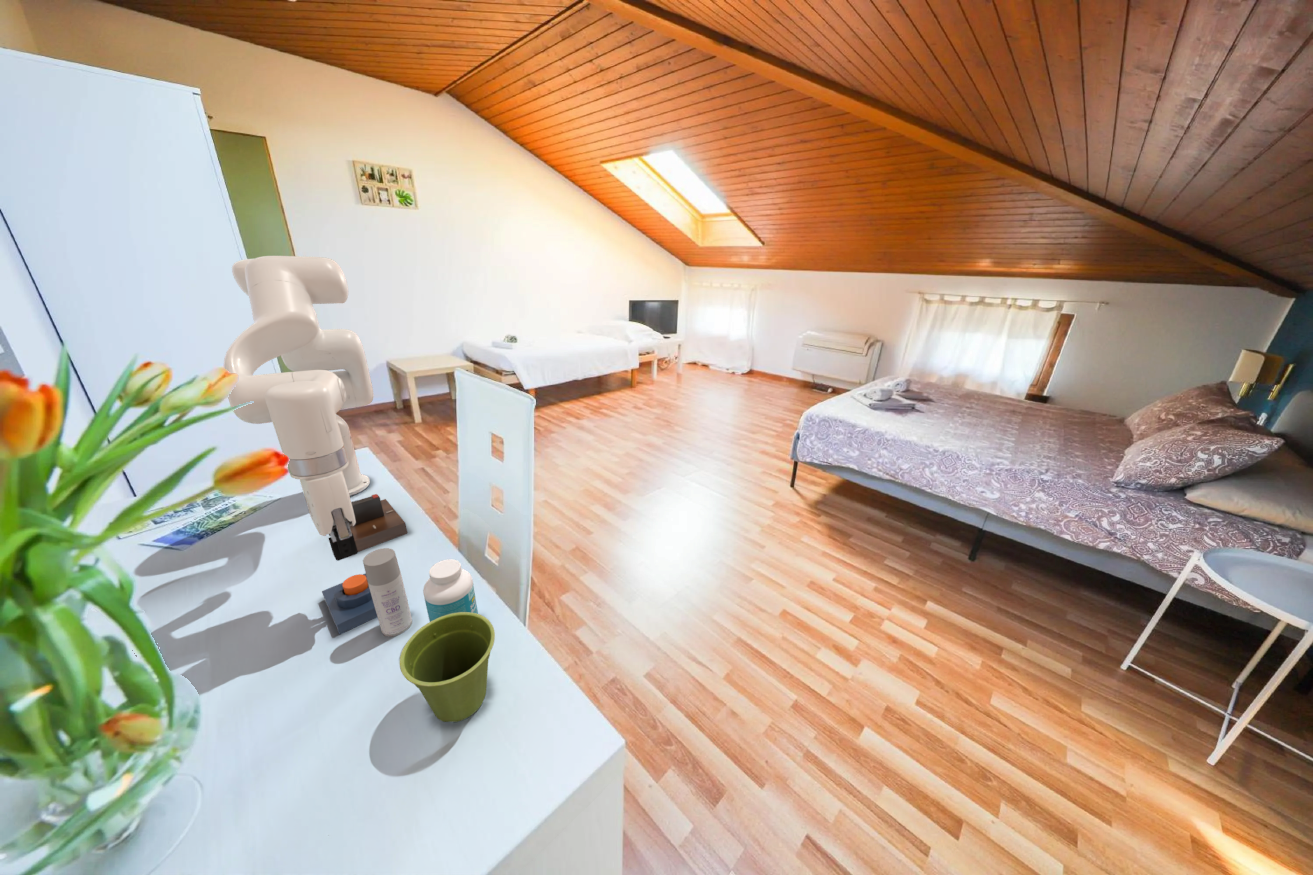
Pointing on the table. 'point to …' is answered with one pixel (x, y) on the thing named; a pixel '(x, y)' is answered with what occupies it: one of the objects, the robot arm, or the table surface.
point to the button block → (349, 607)
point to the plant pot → (450, 663)
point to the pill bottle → (449, 590)
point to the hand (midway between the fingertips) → (346, 554)
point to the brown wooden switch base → (379, 528)
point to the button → (355, 584)
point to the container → (387, 591)
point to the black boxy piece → (367, 509)
